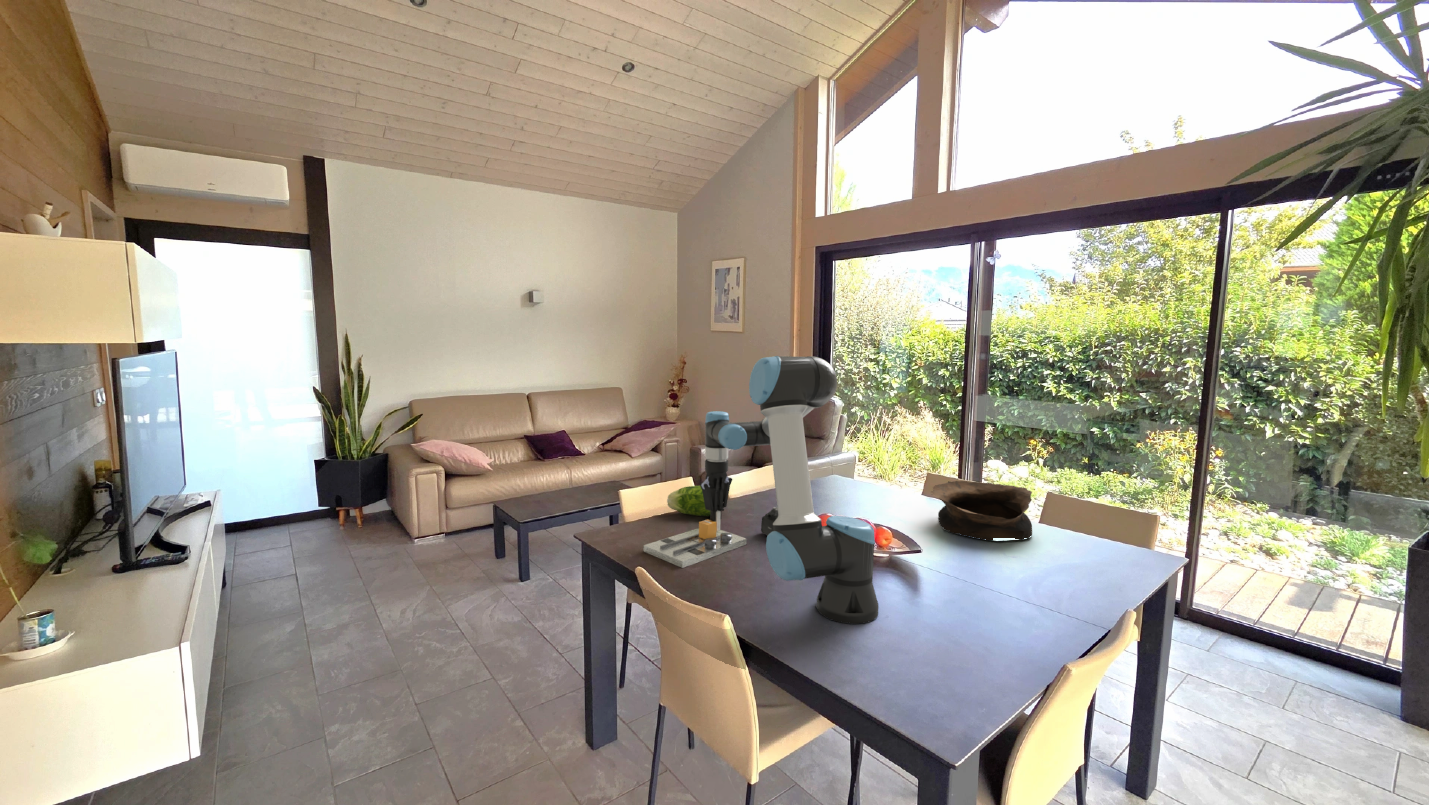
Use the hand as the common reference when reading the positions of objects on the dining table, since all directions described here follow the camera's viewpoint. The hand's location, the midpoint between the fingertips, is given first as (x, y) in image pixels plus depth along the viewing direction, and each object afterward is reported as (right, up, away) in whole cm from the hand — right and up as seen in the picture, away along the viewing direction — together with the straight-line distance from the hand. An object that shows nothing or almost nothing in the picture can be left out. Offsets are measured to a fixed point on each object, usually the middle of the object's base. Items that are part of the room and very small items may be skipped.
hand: (715, 529), depth 199 cm
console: (-6, -5, -6) cm, 10 cm away
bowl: (+93, -4, +15) cm, 95 cm away
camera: (+21, -4, +6) cm, 23 cm away
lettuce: (-8, -1, +28) cm, 29 cm away
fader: (-3, -2, -2) cm, 4 cm away
